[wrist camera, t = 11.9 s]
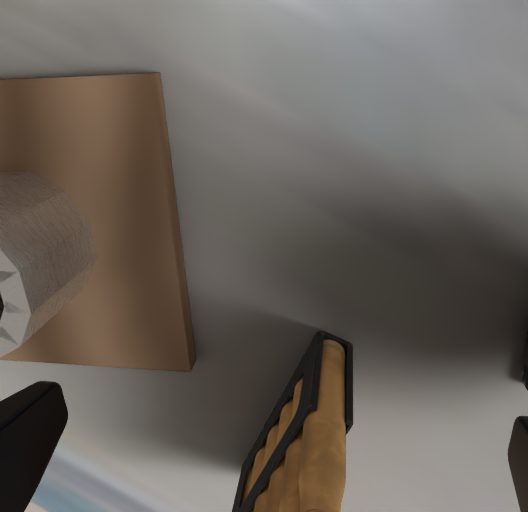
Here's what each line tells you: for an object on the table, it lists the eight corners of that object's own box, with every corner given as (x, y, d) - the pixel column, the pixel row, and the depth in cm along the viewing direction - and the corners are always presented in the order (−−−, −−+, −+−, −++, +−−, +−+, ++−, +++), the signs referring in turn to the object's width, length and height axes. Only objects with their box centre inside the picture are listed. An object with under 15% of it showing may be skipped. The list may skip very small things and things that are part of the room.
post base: (160, 72, 18) (92, 80, 13) (196, 360, 24) (158, 440, 19) (-137, 85, 21) (-288, 96, 16) (-40, 345, 26) (-129, 414, 21)
